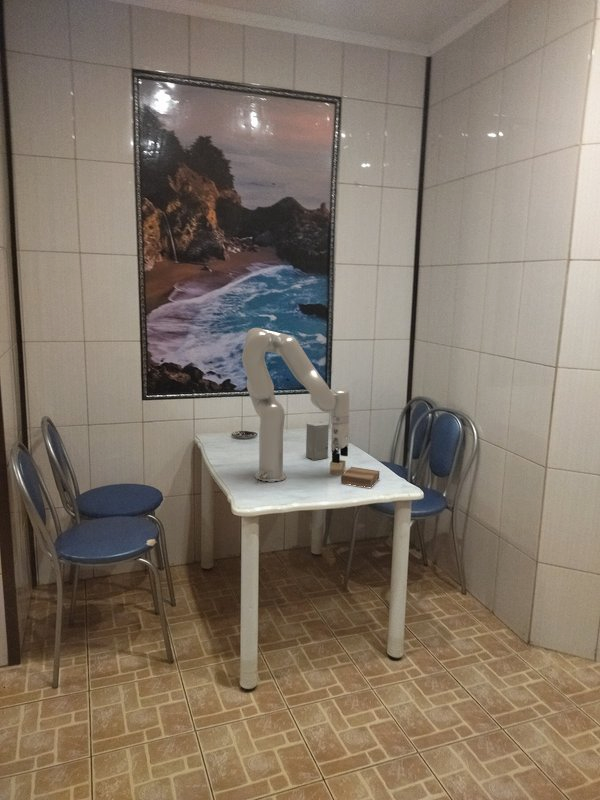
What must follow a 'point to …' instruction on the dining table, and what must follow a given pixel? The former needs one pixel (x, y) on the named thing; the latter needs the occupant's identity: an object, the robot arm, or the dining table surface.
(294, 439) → the dining table surface
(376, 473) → the walnut block
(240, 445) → the dining table surface
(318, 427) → the skincare box
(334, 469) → the maple cube
